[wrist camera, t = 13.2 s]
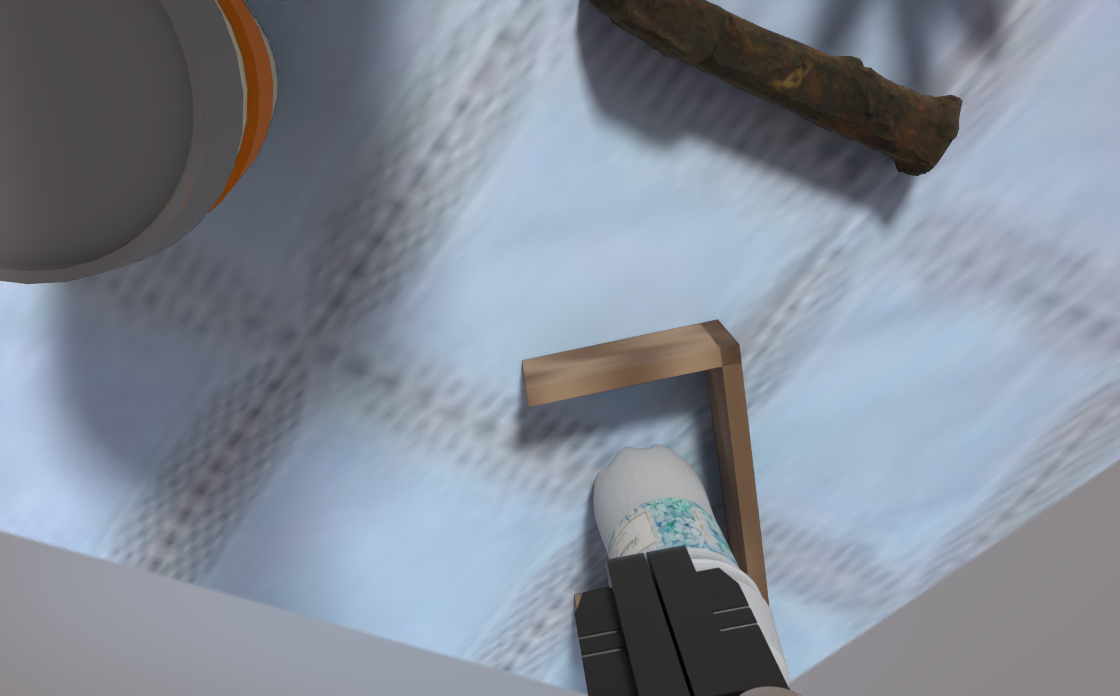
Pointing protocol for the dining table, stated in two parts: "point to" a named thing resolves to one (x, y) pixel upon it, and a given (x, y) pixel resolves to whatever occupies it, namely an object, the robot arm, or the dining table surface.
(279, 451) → the dining table surface
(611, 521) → the bottle
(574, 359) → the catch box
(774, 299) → the dining table surface
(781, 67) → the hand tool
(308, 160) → the dining table surface
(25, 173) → the reusable coffee cup
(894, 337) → the dining table surface
